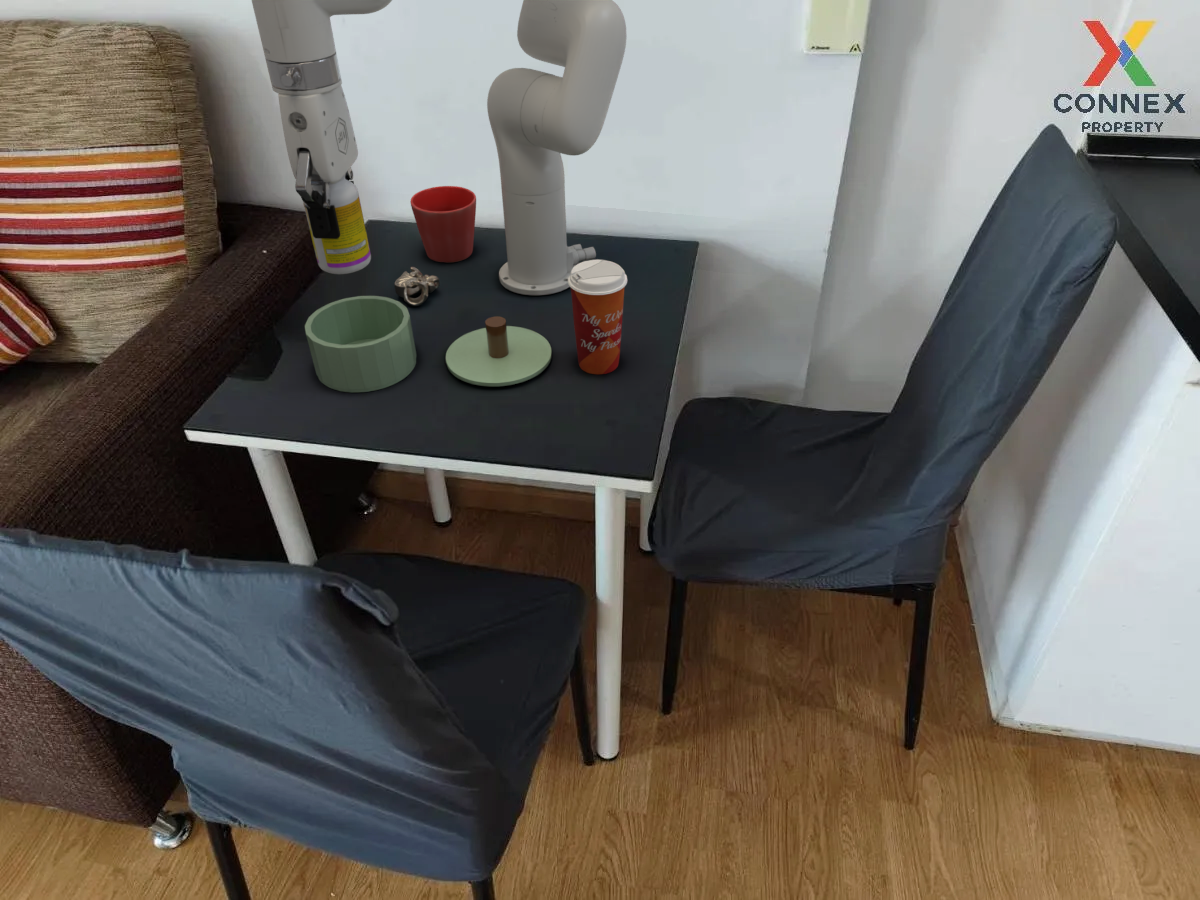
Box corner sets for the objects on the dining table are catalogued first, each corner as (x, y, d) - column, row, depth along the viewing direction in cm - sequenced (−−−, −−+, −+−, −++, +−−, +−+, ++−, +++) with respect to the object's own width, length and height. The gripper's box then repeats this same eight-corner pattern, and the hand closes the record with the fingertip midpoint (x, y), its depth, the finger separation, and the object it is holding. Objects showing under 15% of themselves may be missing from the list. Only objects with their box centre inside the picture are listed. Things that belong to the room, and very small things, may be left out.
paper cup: (586, 384, 115) (584, 290, 106) (561, 357, 120) (557, 265, 111) (637, 369, 118) (639, 276, 109) (611, 343, 123) (610, 252, 114)
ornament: (445, 303, 132) (442, 281, 130) (400, 311, 131) (397, 289, 128) (436, 280, 138) (432, 259, 136) (393, 287, 137) (389, 266, 134)
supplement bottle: (382, 262, 110) (364, 163, 102) (339, 281, 106) (317, 180, 98) (350, 247, 113) (330, 150, 105) (308, 265, 109) (283, 166, 101)
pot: (368, 329, 127) (359, 286, 122) (436, 357, 121) (430, 313, 116) (295, 372, 118) (283, 327, 114) (364, 404, 112) (354, 358, 108)
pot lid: (493, 323, 128) (489, 285, 124) (572, 352, 121) (571, 313, 117) (424, 368, 118) (418, 329, 114) (506, 402, 112) (502, 362, 108)
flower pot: (492, 243, 149) (487, 189, 142) (464, 271, 141) (457, 215, 134) (437, 235, 151) (430, 181, 145) (406, 262, 143) (397, 206, 137)
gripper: (311, 96, 88) (345, 257, 99) (361, 51, 102) (386, 197, 113) (240, 95, 89) (282, 255, 100) (299, 51, 102) (330, 196, 113)
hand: (336, 223), depth 106 cm, fingers closed on supplement bottle, 6 cm apart
